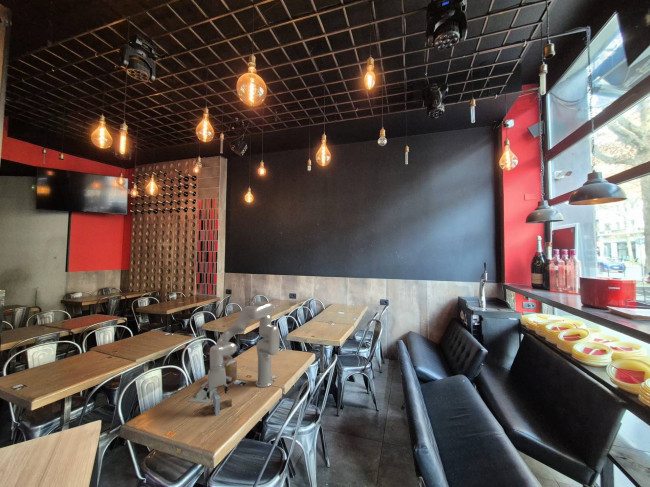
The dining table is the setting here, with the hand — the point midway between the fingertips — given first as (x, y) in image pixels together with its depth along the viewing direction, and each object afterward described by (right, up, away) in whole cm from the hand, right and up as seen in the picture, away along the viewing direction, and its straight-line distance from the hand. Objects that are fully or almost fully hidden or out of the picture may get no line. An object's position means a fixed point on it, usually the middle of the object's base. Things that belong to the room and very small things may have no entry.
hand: (217, 395), depth 158 cm
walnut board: (0, -9, -1) cm, 9 cm away
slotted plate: (0, -9, -1) cm, 9 cm away
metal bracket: (-14, -10, +14) cm, 23 cm away
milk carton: (-8, -11, +36) cm, 39 cm away
